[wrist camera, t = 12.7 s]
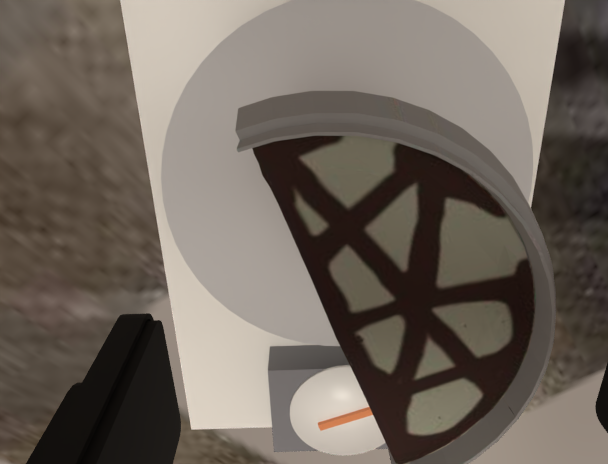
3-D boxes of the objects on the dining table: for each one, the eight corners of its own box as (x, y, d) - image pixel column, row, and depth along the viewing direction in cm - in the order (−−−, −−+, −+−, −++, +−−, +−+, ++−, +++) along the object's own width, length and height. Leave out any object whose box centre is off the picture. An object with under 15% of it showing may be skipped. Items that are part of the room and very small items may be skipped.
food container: (491, 276, 23) (614, 451, 14) (366, 318, 24) (403, 507, 15) (415, 7, 18) (522, 2, 9) (264, 72, 19) (224, 125, 10)
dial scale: (138, -23, 22) (92, -33, 17) (538, -37, 22) (607, -53, 17) (200, 393, 32) (182, 463, 27) (479, 385, 32) (512, 453, 27)
